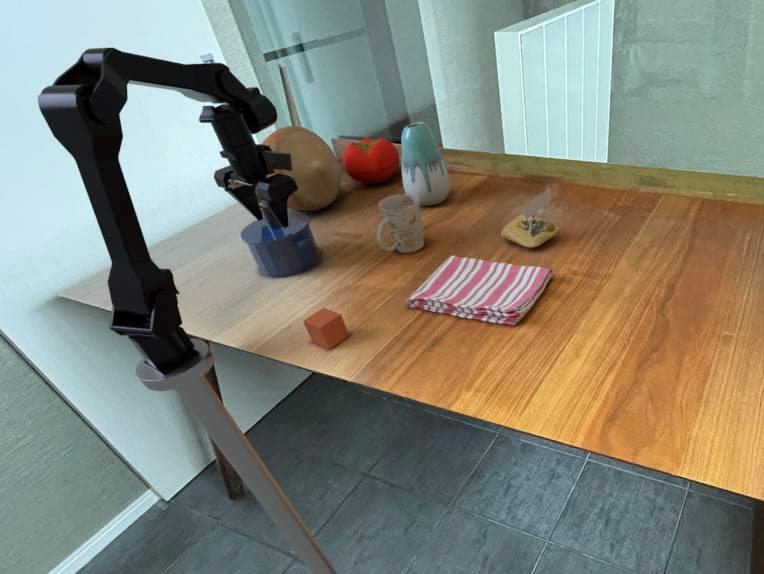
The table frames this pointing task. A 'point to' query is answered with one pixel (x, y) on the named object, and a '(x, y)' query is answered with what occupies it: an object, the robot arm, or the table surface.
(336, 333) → the block
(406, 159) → the vase
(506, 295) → the dish towel
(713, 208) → the table surface
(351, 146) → the tomato
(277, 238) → the pot lid
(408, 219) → the mug
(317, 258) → the pot
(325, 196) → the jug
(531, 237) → the tan figurine base
